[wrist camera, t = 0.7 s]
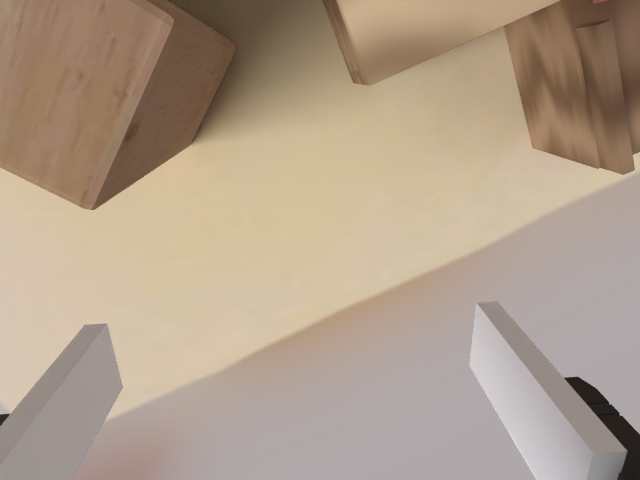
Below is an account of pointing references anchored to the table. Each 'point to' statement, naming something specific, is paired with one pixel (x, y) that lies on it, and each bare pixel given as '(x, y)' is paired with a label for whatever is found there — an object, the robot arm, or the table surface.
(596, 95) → the brown wooden open box
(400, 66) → the lid
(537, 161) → the table surface
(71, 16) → the wooden block
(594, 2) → the pink rectangular block
